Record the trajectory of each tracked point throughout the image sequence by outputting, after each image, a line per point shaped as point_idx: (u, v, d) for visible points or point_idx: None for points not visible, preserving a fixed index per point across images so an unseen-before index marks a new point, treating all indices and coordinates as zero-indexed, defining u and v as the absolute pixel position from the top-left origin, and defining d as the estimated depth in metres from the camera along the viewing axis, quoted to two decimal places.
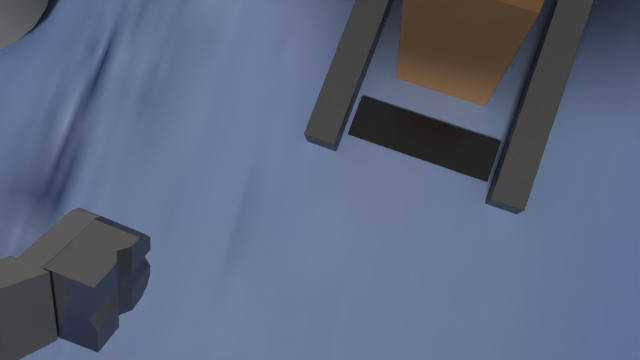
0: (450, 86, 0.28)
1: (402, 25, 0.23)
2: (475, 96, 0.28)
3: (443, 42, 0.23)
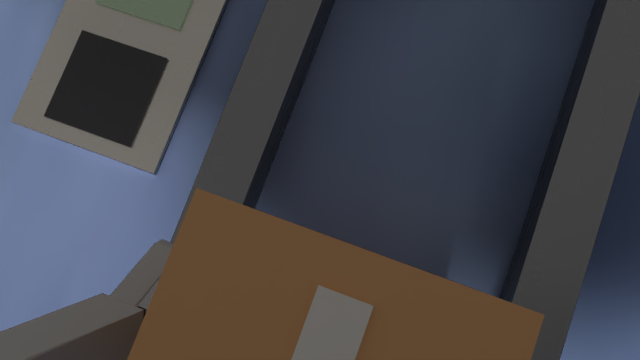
0: None
1: None
2: None
3: None
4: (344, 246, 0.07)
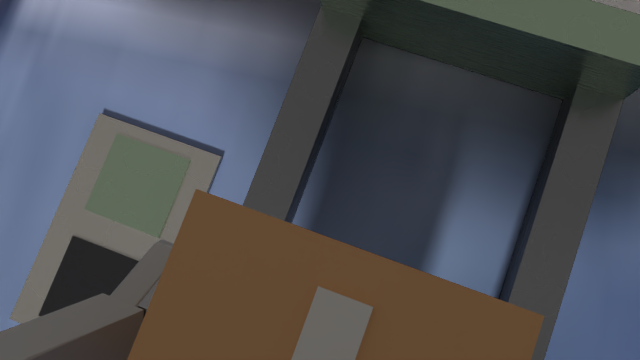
0: None
1: None
2: None
3: None
4: (344, 247, 0.07)
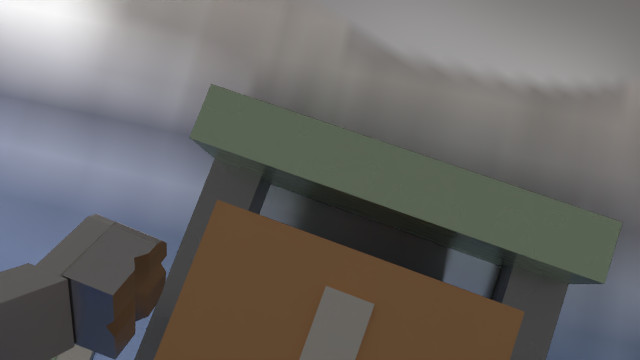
0: None
1: None
2: None
3: None
4: (348, 251, 0.08)
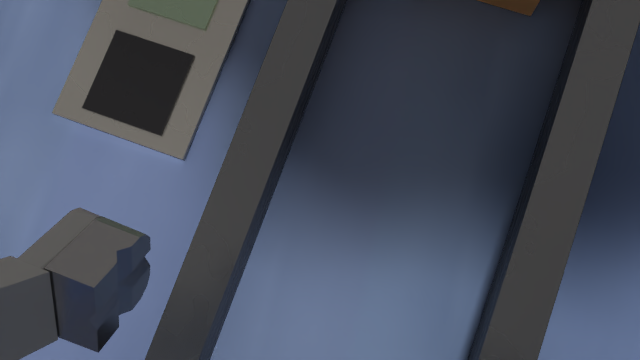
0: None
1: None
2: None
3: None
4: None
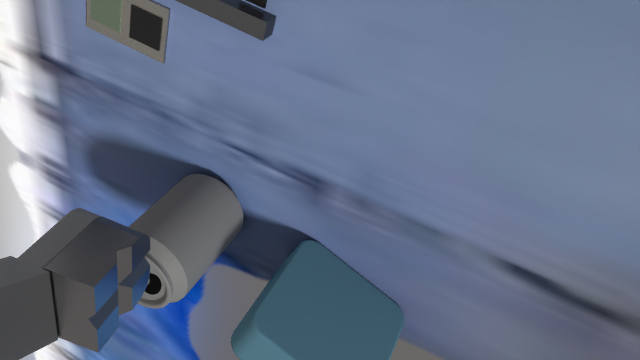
0: None
1: None
2: None
3: None
4: None
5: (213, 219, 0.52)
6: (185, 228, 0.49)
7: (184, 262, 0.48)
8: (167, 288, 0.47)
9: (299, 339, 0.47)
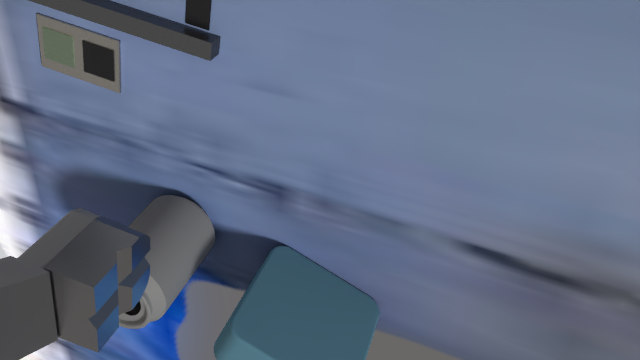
0: None
1: None
2: None
3: None
4: None
5: (184, 236, 0.54)
6: (158, 248, 0.51)
7: (160, 280, 0.50)
8: (146, 307, 0.49)
9: (278, 340, 0.49)
